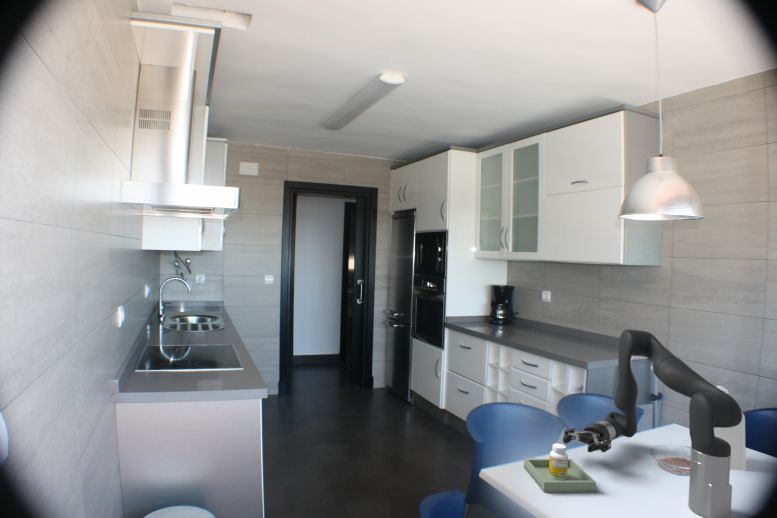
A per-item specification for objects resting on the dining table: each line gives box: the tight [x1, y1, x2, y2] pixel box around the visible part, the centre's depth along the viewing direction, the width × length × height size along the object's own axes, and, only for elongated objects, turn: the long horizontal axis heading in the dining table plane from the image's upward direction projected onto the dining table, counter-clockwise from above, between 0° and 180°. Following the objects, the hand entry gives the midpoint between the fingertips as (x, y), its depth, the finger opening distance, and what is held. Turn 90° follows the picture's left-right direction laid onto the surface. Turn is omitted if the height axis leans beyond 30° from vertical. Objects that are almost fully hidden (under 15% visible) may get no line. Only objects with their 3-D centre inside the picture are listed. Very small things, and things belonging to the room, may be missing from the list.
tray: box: [523, 458, 597, 493], centre depth 150 cm, size 16×16×3 cm
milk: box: [714, 385, 747, 472], centre depth 168 cm, size 12×12×26 cm
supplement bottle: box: [549, 443, 569, 480], centre depth 150 cm, size 5×5×10 cm
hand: (576, 444), depth 156 cm, fingers open, 8 cm apart
